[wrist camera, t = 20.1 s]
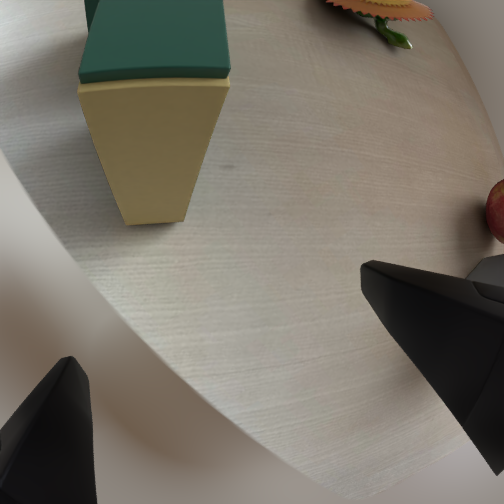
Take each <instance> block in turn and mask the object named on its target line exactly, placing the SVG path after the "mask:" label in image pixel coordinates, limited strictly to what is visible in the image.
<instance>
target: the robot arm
mask: <svg viewBox="0 0 504 504" xmlns="http://www.w3.org/2000/svg"><path fill="white" fill-rule="evenodd" d="M360 273H361V290H362V293H363V295H364V296H365V298H366V299H367V301H368V302H369V304H370V305H371V307H372V308H373V310H374V311H375V313H376V314H377V316H378V317H379V319H380V321H381V322H382V324H383V325H384V327H385V328H386V329H387V331H388V332H389V333H390V335H391V336H392V337H393V338H394V339H395V341H396V342H397V343H398V344H399V346H400V347H401V348H402V349H403V351H404V352H405V353H406V354H407V356H408V357H409V358H410V359H411V361H412V362H413V363H414V364H415V366H416V367H417V368H418V369H419V371H420V372H421V373H422V375H423V376H424V377H425V378H426V380H427V381H428V382H429V384H430V385H431V386H432V387H433V389H434V390H435V391H436V393H437V394H438V395H439V397H440V398H441V399H442V401H443V402H444V403H445V405H446V406H447V407H448V409H449V410H450V411H451V413H452V414H453V415H454V417H455V418H456V419H457V421H458V422H459V424H460V425H461V426H462V427H463V429H464V431H465V432H466V433H467V435H468V436H469V438H470V439H471V440H472V442H473V443H474V445H475V446H476V448H477V449H478V450H479V452H480V453H481V455H482V456H483V457H484V459H485V460H486V462H487V463H488V465H489V466H490V468H491V469H492V471H493V472H494V473H495V475H496V476H498V475H499V474H500V473H501V472H502V471H503V470H504V287H503V286H497V285H492V284H486V283H482V282H477V281H471V280H467V279H463V278H458V277H453V276H449V275H444V274H439V273H434V272H430V271H425V270H420V269H415V268H410V267H405V266H400V265H396V264H391V263H386V262H381V261H376V260H371V261H368V262H366V263H363V264H362V265H361V268H360ZM92 423H93V422H92V412H91V403H90V389H89V380H88V377H87V375H86V373H85V372H84V370H83V369H82V367H81V366H80V364H79V363H78V362H77V360H76V359H75V358H74V357H73V356H68V357H64V358H61V359H60V360H59V361H58V362H57V363H56V365H54V367H53V368H52V369H51V370H50V371H49V372H48V373H47V375H46V376H45V377H44V378H43V379H42V380H41V381H40V383H39V384H38V385H37V386H36V387H35V388H34V390H33V391H32V392H31V393H30V394H29V395H28V397H27V398H26V399H25V400H24V401H23V403H22V404H21V405H20V406H19V407H18V409H17V410H16V411H15V412H14V413H13V415H12V416H11V417H10V418H9V420H8V421H7V422H6V423H5V425H4V426H3V427H2V428H1V430H0V504H97V495H96V485H95V472H94V455H93V454H94V453H93V424H92Z"/></svg>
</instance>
